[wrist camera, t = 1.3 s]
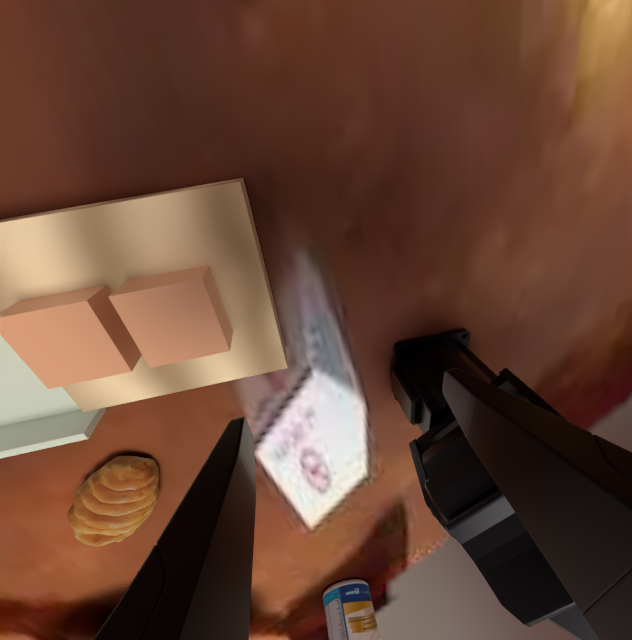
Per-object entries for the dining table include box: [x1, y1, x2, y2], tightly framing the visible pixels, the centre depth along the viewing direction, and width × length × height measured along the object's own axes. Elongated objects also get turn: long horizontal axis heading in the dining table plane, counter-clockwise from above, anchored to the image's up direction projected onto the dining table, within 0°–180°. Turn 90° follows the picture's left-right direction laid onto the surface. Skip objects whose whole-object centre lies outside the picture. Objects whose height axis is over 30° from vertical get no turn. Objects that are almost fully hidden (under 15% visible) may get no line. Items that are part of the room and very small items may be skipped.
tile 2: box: [0, 284, 142, 389], centre depth 15 cm, size 4×4×2 cm
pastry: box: [68, 456, 159, 546], centre depth 26 cm, size 9×7×4 cm
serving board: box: [0, 178, 288, 412], centre depth 17 cm, size 14×12×2 cm
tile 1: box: [108, 265, 233, 368], centre depth 16 cm, size 4×4×2 cm
